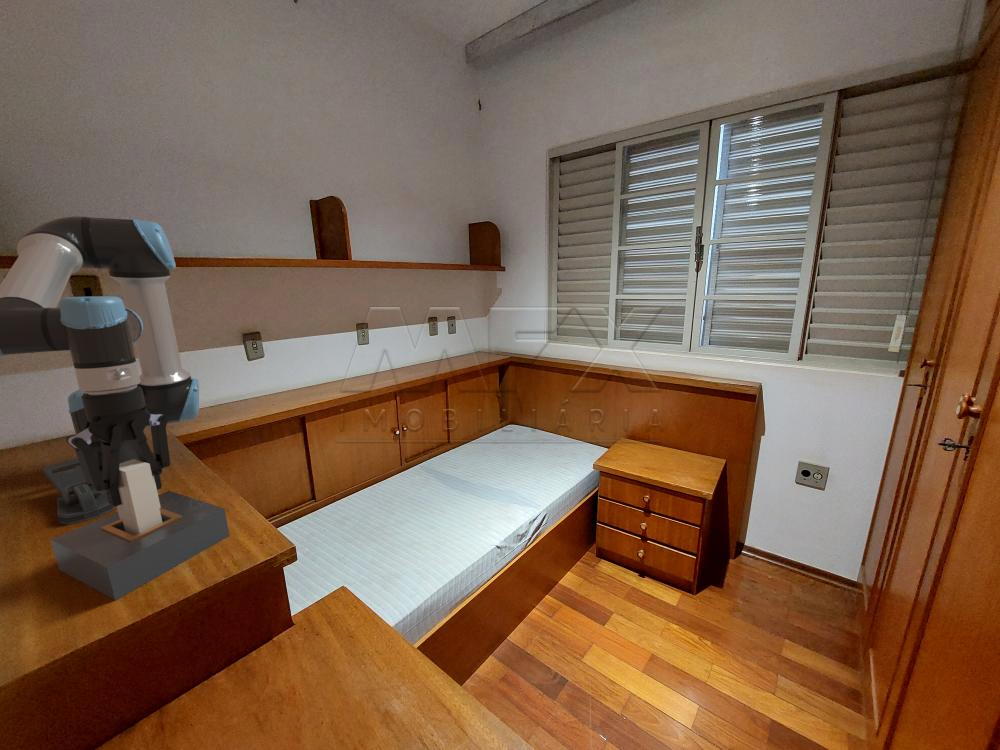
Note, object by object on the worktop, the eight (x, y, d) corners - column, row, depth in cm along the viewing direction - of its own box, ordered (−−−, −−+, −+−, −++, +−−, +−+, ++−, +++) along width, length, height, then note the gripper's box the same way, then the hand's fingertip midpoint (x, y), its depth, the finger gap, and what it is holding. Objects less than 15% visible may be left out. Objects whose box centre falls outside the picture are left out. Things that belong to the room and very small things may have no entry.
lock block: (59, 569, 70) (49, 538, 68) (174, 516, 86) (168, 489, 85) (115, 600, 63) (106, 565, 62) (229, 535, 79) (224, 507, 78)
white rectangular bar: (129, 547, 74) (109, 467, 70) (151, 536, 77) (133, 459, 73) (144, 553, 72) (125, 471, 68) (166, 542, 75) (149, 463, 71)
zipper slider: (89, 455, 102) (114, 482, 87) (95, 479, 103) (121, 509, 89) (36, 468, 95) (54, 500, 80) (44, 493, 96) (62, 529, 82)
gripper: (54, 404, 59) (92, 544, 64) (180, 380, 73) (201, 495, 79) (30, 399, 62) (68, 534, 67) (156, 376, 76) (178, 488, 82)
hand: (140, 512), depth 73 cm, fingers closed on white rectangular bar, 3 cm apart
